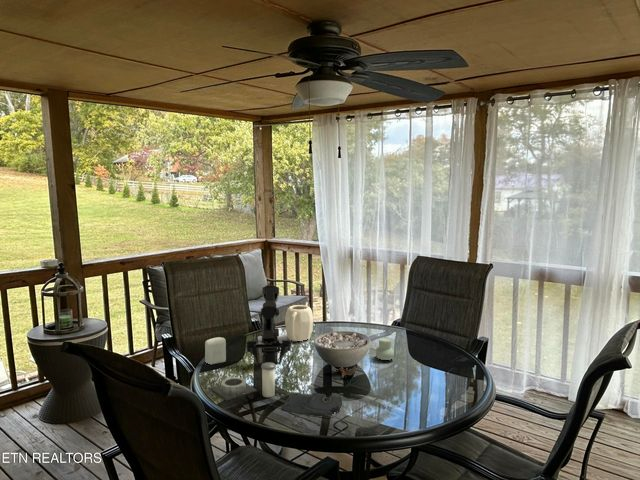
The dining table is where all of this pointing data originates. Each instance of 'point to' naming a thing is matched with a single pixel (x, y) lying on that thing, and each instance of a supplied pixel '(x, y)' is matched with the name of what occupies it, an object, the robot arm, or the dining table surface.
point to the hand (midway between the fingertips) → (268, 364)
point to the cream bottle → (268, 379)
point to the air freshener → (384, 349)
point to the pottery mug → (347, 371)
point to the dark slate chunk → (312, 404)
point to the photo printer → (215, 350)
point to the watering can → (299, 322)
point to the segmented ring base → (233, 388)
